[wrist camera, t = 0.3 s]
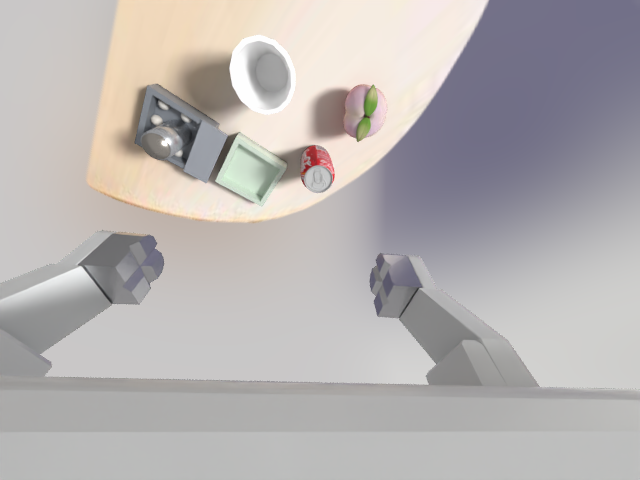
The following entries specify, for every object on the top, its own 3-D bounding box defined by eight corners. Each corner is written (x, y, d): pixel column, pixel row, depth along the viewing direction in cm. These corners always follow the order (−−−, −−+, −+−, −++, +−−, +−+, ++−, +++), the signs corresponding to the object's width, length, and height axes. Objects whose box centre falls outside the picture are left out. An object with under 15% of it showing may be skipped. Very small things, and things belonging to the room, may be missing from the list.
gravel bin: (157, 82, 43) (145, 84, 39) (232, 131, 49) (227, 136, 46) (143, 139, 49) (132, 144, 45) (211, 176, 55) (206, 183, 51)
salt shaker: (162, 118, 46) (134, 131, 38) (188, 119, 46) (165, 132, 38) (171, 144, 49) (146, 160, 41) (195, 145, 49) (175, 161, 41)
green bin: (239, 132, 49) (236, 136, 46) (287, 163, 54) (286, 168, 51) (219, 175, 55) (214, 181, 52) (263, 199, 60) (262, 206, 57)
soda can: (302, 174, 56) (302, 197, 47) (298, 144, 52) (298, 163, 42) (330, 171, 56) (336, 194, 47) (329, 142, 52) (335, 160, 42)
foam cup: (285, 111, 47) (280, 125, 37) (240, 86, 44) (223, 95, 34) (304, 59, 42) (305, 60, 32) (256, 27, 39) (240, 17, 29)
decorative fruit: (374, 132, 51) (388, 145, 43) (338, 131, 50) (345, 145, 43) (383, 81, 45) (400, 86, 37) (342, 80, 44) (351, 85, 37)
